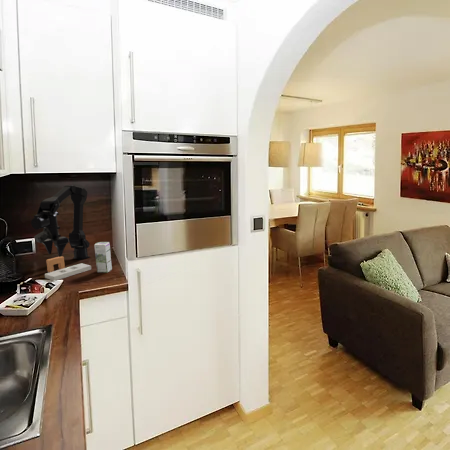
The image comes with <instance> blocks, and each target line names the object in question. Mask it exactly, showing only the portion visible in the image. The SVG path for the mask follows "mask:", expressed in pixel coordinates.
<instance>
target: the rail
mask: <svg viewBox="0 0 450 450" xmlns="http://www.w3.org/2000/svg"><path fill="white" fill-rule="evenodd" d="M91 270H92V265H89V264H85V263H82V262H81V263H78V264H74V265H70V266H68V267H65V268H63V269H57V270H54V271H53V272H47V273H44V279H47V280H50V281H53V280H56V281H59V280H63V279H65V278H69V277H71V276H75V275H78V274H80V273H81V274H82V273H84V272H87V271H91Z"/></svg>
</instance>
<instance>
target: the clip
mask: <svg viewBox="0 0 450 450" xmlns="http://www.w3.org/2000/svg"><path fill="white" fill-rule="evenodd" d="M45 262H46V269H47V273H50V272H53V271H55V267H54V265H58V270H60V269H63V268H66V266H65V265H66V264H65V257H64V256H61V257H59V256H56V257H52V258H48V259H46V261H45Z"/></svg>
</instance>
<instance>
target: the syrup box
mask: <svg viewBox="0 0 450 450" xmlns="http://www.w3.org/2000/svg"><path fill="white" fill-rule="evenodd" d="M94 254H95V255H94V256H95V263H96V264H95V266H96V272H97V273H109V272H111V271H112V270H113V266H112V258H111V257H112V255H111V245H110V241H99V242H98V241H97V242H96V243H95V244H94Z"/></svg>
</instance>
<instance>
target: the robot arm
mask: <svg viewBox="0 0 450 450" xmlns="http://www.w3.org/2000/svg"><path fill="white" fill-rule="evenodd" d="M68 197H70V200H71V202H72V203H73V214H72V215H73V221H72V222H73V223H72V224H73V225H72V231H71V232H69V233H68V237H67V236H61V234H60V233H59V230H60V226H59V225H58V216H60V213H59V212H57V211H58V210H59V208H60V207H61V206H60V205H61V203H62V202H64V200H66V199H67V198H68ZM87 197H88V191H87V189H85V187H84V188H83V187H78V186H75V185H73V184H65V185H64V186H63V187H62V188H61V189H60V190H59V191H58V192H56V193H55V194H53V196H51V197H48V198H45V199H44V200H42V201H40V204H39V207H38V210H37V212H36V214H34V215H33V218H32V219H31V220H30V221H31V222H30V224H31V227H32V228H33V229H34V230H40V229H42V231H40V232H39V233H37V234H36V235H34V236H33V238H34V240H35V241H36V243H39V244H43V245H44V247H45V250H46V252H47V253H48V255H51V254H52V252H53V246H55V248H56V251H57V255H58V256H57V257H61V256H62V255H63V253H64V250H65V248H66V246H67V245H68V243H69V246H70V247H71V249H73V259H74V260H79V261H81V260H85V259H88V258H90V256H89V254H88V248H89V247H90V245H91V244H90V243H91V242H89V241H88V239H86V238H87V237H86V234H85V232H84V230H83V229H84V224H83V223H84V204H85V202H87V199H88V198H87Z"/></svg>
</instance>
